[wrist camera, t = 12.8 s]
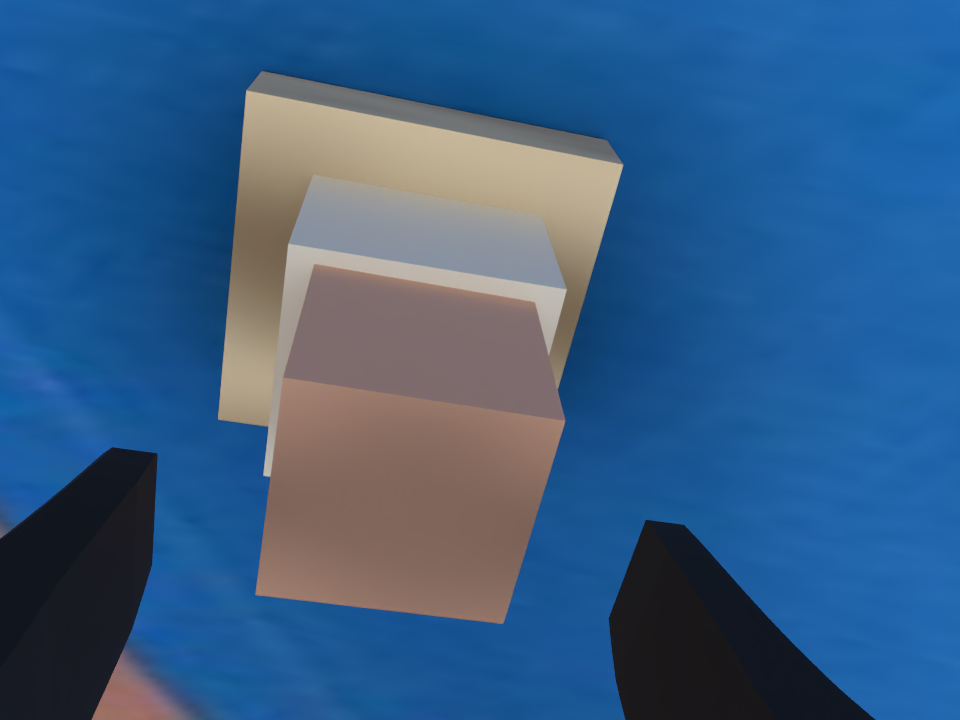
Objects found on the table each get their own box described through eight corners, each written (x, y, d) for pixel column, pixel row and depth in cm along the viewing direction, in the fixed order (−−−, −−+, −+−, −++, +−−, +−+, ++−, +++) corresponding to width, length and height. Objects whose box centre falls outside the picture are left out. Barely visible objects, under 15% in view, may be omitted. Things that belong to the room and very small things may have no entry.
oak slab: (527, 422, 25) (535, 464, 23) (233, 378, 23) (218, 419, 22) (606, 140, 21) (623, 165, 19) (261, 70, 20) (246, 90, 18)
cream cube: (494, 405, 22) (508, 506, 18) (289, 375, 21) (263, 475, 18) (541, 214, 20) (567, 289, 16) (313, 173, 19) (288, 243, 15)
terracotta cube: (487, 477, 18) (503, 623, 15) (288, 449, 17) (255, 594, 14) (534, 301, 16) (565, 421, 13) (314, 263, 16) (283, 376, 12)
